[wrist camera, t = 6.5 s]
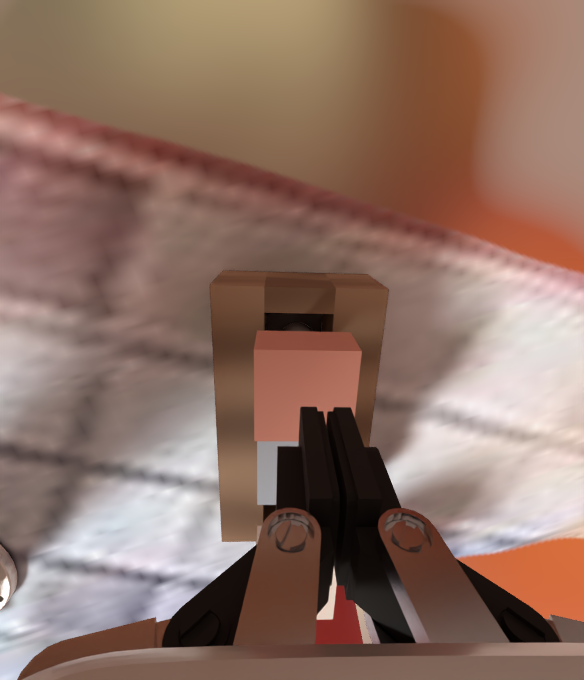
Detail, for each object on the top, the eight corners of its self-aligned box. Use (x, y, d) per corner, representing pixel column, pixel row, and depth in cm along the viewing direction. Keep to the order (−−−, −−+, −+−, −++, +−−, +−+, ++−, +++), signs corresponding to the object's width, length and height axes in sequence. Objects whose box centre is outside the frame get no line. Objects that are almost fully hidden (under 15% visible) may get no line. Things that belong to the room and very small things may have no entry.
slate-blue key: (320, 429, 27) (334, 504, 20) (262, 429, 27) (257, 505, 20) (323, 377, 26) (340, 439, 19) (262, 376, 26) (257, 439, 19)
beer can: (325, 606, 36) (346, 784, 25) (269, 585, 35) (265, 763, 24) (362, 565, 35) (403, 737, 23) (304, 541, 33) (318, 712, 22)
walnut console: (344, 490, 31) (356, 540, 27) (230, 491, 31) (221, 541, 26) (367, 274, 25) (388, 289, 20) (222, 270, 24) (209, 284, 20)
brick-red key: (329, 371, 23) (352, 441, 16) (261, 370, 23) (254, 441, 16) (334, 305, 21) (361, 351, 15) (261, 303, 21) (253, 349, 14)
